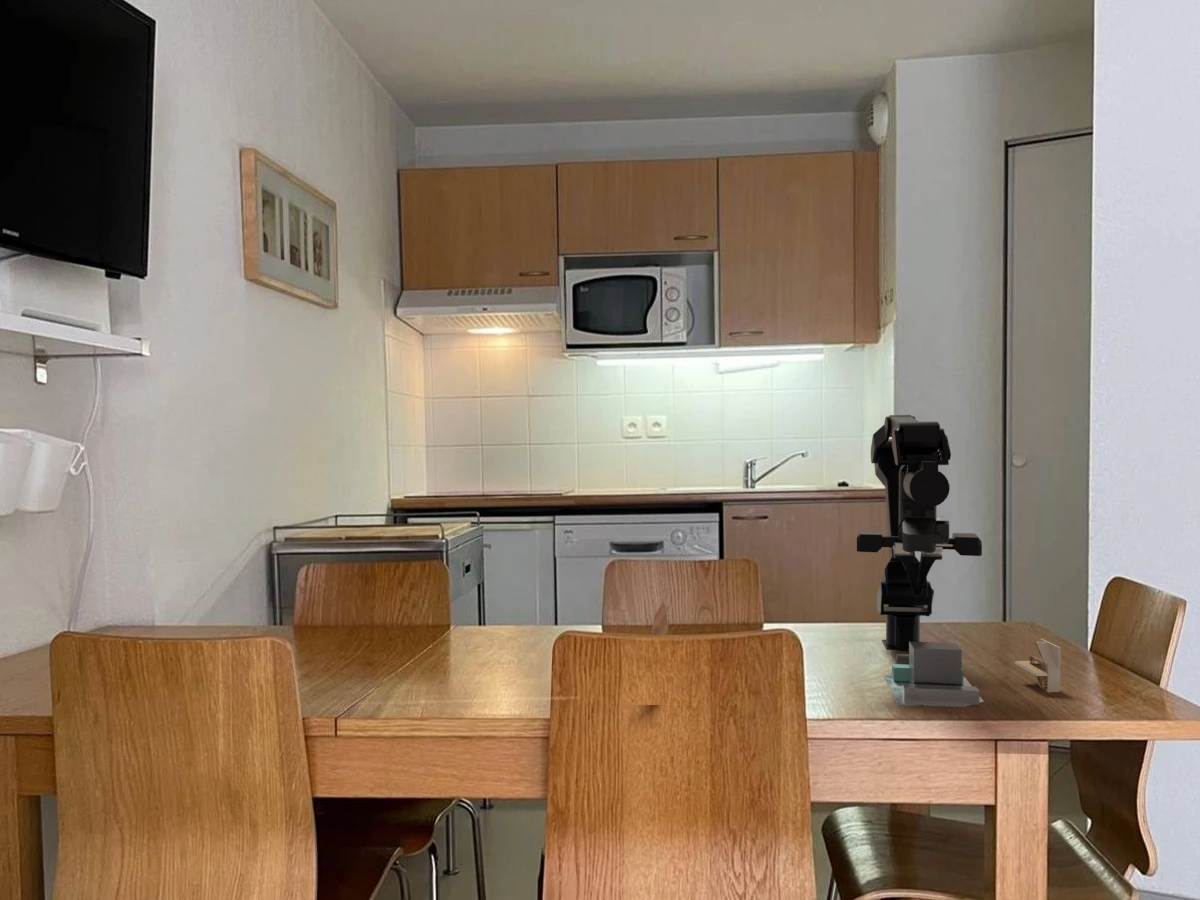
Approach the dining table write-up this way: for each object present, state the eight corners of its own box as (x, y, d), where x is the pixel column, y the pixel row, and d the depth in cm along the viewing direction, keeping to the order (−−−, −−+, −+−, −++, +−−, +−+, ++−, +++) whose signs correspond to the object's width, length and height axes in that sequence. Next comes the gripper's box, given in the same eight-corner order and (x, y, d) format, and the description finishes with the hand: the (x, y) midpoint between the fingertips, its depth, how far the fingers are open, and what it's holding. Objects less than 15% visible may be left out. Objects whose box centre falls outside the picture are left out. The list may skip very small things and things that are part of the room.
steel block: (909, 688, 132) (909, 641, 132) (955, 690, 131) (955, 642, 131) (913, 696, 128) (913, 648, 128) (961, 698, 127) (961, 649, 127)
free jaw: (886, 666, 144) (886, 652, 144) (952, 668, 142) (952, 654, 142) (893, 680, 136) (893, 666, 136) (963, 683, 134) (963, 668, 134)
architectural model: (1037, 699, 129) (1037, 648, 129) (1014, 685, 136) (1014, 636, 136) (1060, 699, 130) (1061, 648, 129) (1036, 685, 136) (1037, 636, 136)
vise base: (883, 676, 140) (883, 660, 140) (964, 679, 138) (964, 663, 138) (898, 707, 125) (898, 689, 125) (988, 711, 123) (989, 693, 123)
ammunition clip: (662, 697, 131) (661, 615, 131) (650, 696, 132) (649, 615, 131) (670, 676, 142) (669, 601, 141) (658, 675, 142) (657, 600, 142)
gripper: (855, 504, 139) (855, 603, 140) (986, 506, 133) (985, 610, 134) (857, 496, 149) (857, 589, 150) (978, 498, 144) (977, 594, 145)
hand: (917, 595), depth 144 cm, fingers closed
